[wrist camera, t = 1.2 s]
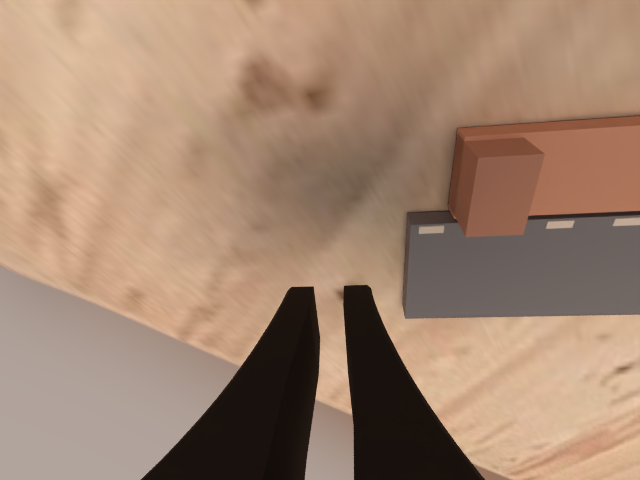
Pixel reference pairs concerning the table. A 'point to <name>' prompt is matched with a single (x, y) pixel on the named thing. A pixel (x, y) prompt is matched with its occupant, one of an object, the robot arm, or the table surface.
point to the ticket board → (523, 267)
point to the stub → (543, 172)
